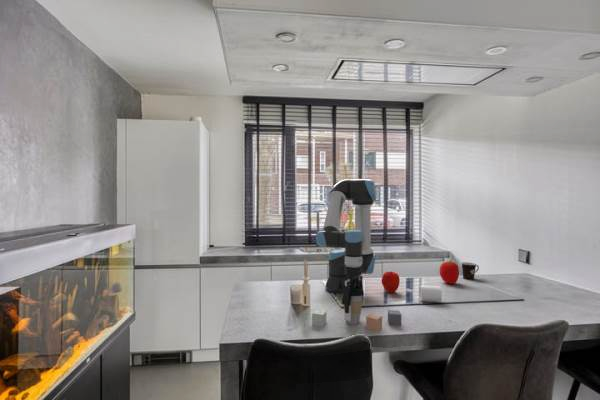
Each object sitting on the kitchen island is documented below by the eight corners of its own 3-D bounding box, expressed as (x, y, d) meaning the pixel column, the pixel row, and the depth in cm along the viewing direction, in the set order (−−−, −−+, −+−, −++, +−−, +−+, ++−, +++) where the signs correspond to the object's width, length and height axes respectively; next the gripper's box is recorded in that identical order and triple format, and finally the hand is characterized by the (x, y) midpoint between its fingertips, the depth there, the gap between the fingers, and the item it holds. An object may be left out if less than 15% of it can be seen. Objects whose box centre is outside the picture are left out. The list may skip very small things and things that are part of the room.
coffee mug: (463, 279, 226) (463, 264, 226) (459, 276, 235) (460, 262, 235) (482, 280, 225) (482, 265, 224) (478, 277, 233) (478, 262, 233)
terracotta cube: (366, 328, 145) (366, 316, 145) (371, 324, 149) (371, 313, 149) (377, 331, 142) (377, 319, 142) (382, 327, 146) (382, 315, 146)
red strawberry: (462, 286, 212) (463, 263, 211) (443, 285, 212) (444, 262, 212) (453, 280, 224) (454, 259, 224) (436, 280, 224) (436, 258, 224)
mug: (441, 304, 176) (442, 289, 176) (421, 303, 178) (421, 287, 178) (437, 297, 188) (437, 283, 188) (418, 296, 190) (418, 281, 190)
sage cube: (311, 324, 148) (311, 313, 148) (315, 320, 153) (315, 309, 153) (323, 326, 146) (323, 314, 146) (326, 322, 151) (326, 311, 151)
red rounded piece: (380, 293, 194) (380, 272, 194) (382, 289, 204) (383, 268, 203) (398, 295, 191) (398, 273, 190) (400, 291, 200) (400, 270, 200)
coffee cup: (339, 318, 155) (340, 285, 155) (360, 318, 156) (360, 285, 156) (344, 326, 146) (344, 291, 146) (366, 326, 147) (366, 291, 146)
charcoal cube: (389, 325, 148) (389, 313, 148) (387, 321, 153) (387, 310, 153) (401, 326, 148) (401, 314, 148) (399, 321, 153) (399, 310, 153)
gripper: (349, 271, 140) (348, 326, 140) (371, 262, 157) (371, 311, 158) (333, 268, 144) (332, 322, 145) (356, 260, 161) (356, 308, 162)
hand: (352, 316), depth 151 cm, fingers open, 9 cm apart
